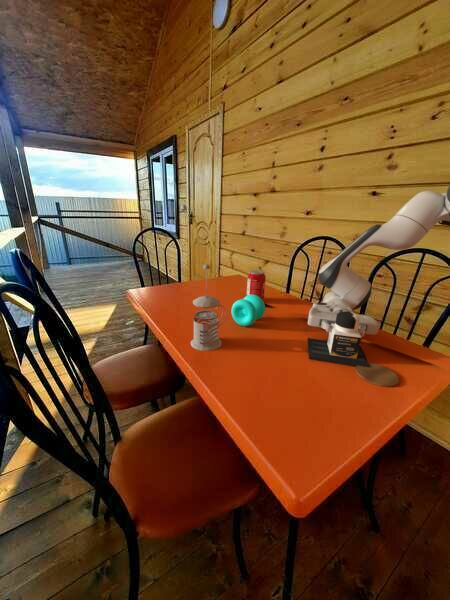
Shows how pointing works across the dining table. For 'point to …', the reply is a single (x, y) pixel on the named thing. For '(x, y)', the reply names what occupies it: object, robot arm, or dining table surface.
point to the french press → (206, 338)
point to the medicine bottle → (345, 335)
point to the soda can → (256, 283)
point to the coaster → (378, 375)
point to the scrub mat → (321, 353)
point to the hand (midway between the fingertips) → (345, 332)
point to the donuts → (248, 310)
